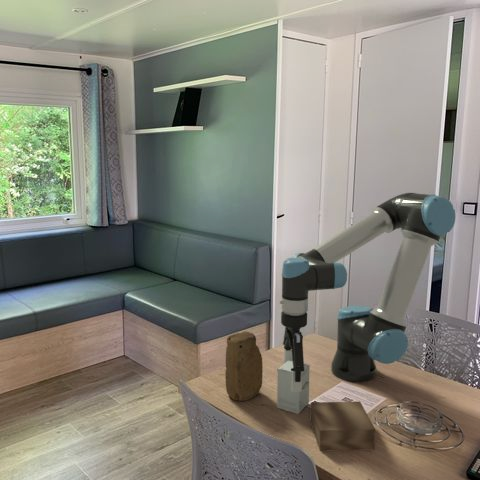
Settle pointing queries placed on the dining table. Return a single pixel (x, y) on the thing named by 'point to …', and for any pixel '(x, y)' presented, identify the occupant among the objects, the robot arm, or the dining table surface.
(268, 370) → the dining table surface
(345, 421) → the walnut block
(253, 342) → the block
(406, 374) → the dining table surface
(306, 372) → the supplement box
